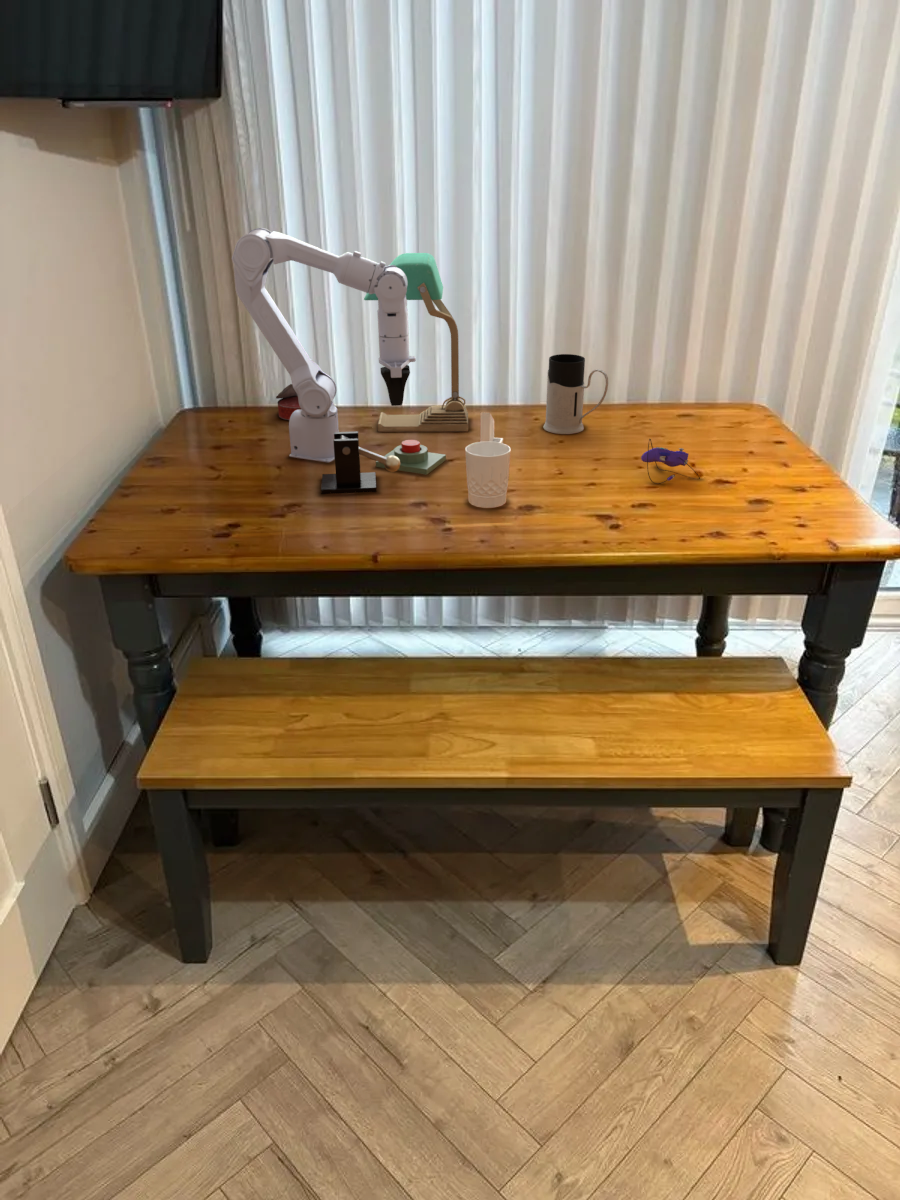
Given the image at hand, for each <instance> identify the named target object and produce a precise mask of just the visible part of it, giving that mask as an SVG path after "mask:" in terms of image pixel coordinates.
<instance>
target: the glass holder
mask: <svg viewBox="0 0 900 1200" xmlns="http://www.w3.org/2000/svg"><path fill="white" fill-rule="evenodd" d="M585 364H586V358H585V356H582V355H578V354H574V353H573V354H571V353H561V354H554V355H551V356H549V357H548V369H547V379H546V380H547V381H546V403H545V421H544V424H543V425H542V426H543V427H542V428H543V429H544V431H546V432H549V433H552V434H557V435H572V434H578V433H581V432H583V431H584V429H585V427H584V423H583V419H584V418H585V417H586V416H588V415H589V414H591V413H592V412H594V411H595V410H596V409H597V408H599V407H600V406H601V405H602V403H603V402H604V400H605V398H606V396H607V393H608V390H609V389H608V388H609V376H608V375H607V373H606V371H604V370H602V369H600V368H599V369H598V368H597V369H594V370H592V371H591V372H590V373H589V375H588V378H587V385H586V386H585V367H586V366H585ZM595 372H599V373H601V374H602V375H603V376H604V379H605V387H604V392H603V395H602V396H601V399H600V400H599V401H598V403H597V404H596V405H595V406H594V407H593V408H592V409H590V410H588V411H587V412H585V413H584V398H585V397H584V395H585V389H588V388H590V386H591V383H592V382H591V381H592V376H593V374H594V373H595ZM583 413H584V414H583Z"/></svg>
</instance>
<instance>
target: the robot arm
mask: <svg viewBox="0 0 900 1200" xmlns="http://www.w3.org/2000/svg"><path fill="white" fill-rule="evenodd" d="M231 261H232V264H233V273H234V275H233V276H234V288H235V292H236V295H237V297H238V298H239V300H240V302H241V303H242V305H243V306H244V307H245V309H246V310H247V312H248V313H249V315H250V317H251V318H252V320H253V321H254V323H255V324H256V326H257V328H258V329H259V330H260V332H261V333H262V335H263V336H264V338H265V339H266V341H267V343H268V344H269V346H270V347H271V349H272V350H273V351H274V353H275V354H276V356H277V358H278V359H279V360H280V362H281V364H282V365H283V367H284V369H285V370H286V371H287V373H288V374H289V376H290V380H291V384H292V385H293V388H294V390H295V391H296V393H297V395H298V401H299V405H300V407H301V410H295V411H294V412H293V413H292V415H291V417H290V420H288V433H289V443H290V444H289V445H290V454H289V457H290V458H297V459H301V460H303V459H304V460H309V461H316V462H322V463H332V462H333V461H335V456H334V442H333V441H334V432H340V430H339V429H340V427H339V414H338V413H339V412H338V407H336V405H335V404H334V401H333V400H334V399H335V397H336V395H337V390H338V389H337V384H336V381H335V380H334V379H333V378H332V377H331V376H330V375H329V374H327V373H326V372H324V371H323V370H322V368H321V367H320V365H319V364H318V363H317V362H315V361H314V360H313V359H312V358H311V357H310V355H309V354H308V352H307V351H306V349H305V348H304V346H303V344H302V343H301V341H300V340H299V338H298V336H297V335H296V334H295V332H294V331H293V328H292V327H291V325H290V324H289V322H288V320H286V318H285V317H284V315H283V313H282V311H281V310H280V308H279V306H278V305H277V304H276V302H275V301H274V299H273V298H272V296H271V295H270V293H269V292H268V290H267V288H266V284H267V278H268V274H269V270H270V267H271V266H272V264H273V265H278V264H282V263H287V262H289V261H293V262H296V263H299V264H302V265H305V266H309V267H312V268H315V269H318V270H321V271H324V272H328V273H331V274H333V275H334V277H335V278H336V281H337V283H338V284H341V285H344V286H347V287H349V288H352V289H355V290H357V291H361V292H363V293H365V294H366V293H368V294H376V296H377V298H378V300H377V306H378V308H377V311H376V312H377V330H378V346H379V347H378V350H379V353H378V354H379V358H378V363H379V364H380V365H381V367H380V375H381V377H382V379H383V381H384V383H385V385H386V389H387V393H388V398H389V402H390V405H391V407H392V406H393V407H396V406H399V407H400V406H401V407H402V406H403V403H404V398H405V397H404V396H405V389H406V384H407V381H408V379H409V377H410V374H411V368H410V365H409V364H410V363H415V362H416V360H417V358H416V356H415V355H410V335H409V334H410V333H409V330H410V329H409V309H408V308H407V306H408V300H407V299H406V292H407V285H408V281H407V277H406V275H405V273H404V272H403V271H402V270H401V269H399V268H397V267H396V266H395V265H390V264H389V265H387V263H386V262H384V261H382V260H380V262H377V261H374V260H372V259H369V258H366V257H363V256H362V252H360V251H357V250H354V252H353V253H352V252H350V251H347V252H344V253H343V254H341V255H337V254H335V253H332V252H330V251H327V250H325V249H323V248H320V247H318V246H315V245H313V244H310V243H308V242H306V241H303V240H301V239H299V238H297V237H296V238H295V237H294V236H291V235H288V234H285V233H283V232H279V231H274V230H273V231H271V230H269V229H268V228H265V227H255V228H253V229H251V230H249V232H248V233H246V234H243V235H242V236H241V237H239V238H238V239H237V241H236V243H235V246H234V250H233V252H232V256H231Z"/></svg>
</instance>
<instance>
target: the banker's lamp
mask: <svg viewBox="0 0 900 1200" xmlns="http://www.w3.org/2000/svg"><path fill="white" fill-rule="evenodd" d="M389 265H395V266H396V267H397V268H399V269H401V270H402V271H403V272H404V273H405V275H406V277H407V281H408V285H407V292H406V299H407V301H423V303H424V306H425V308H426V310H427V312H428V314H429V315H430V316H432V317H434V318H439V319H442V320H443V321H445V322H446V325H447V326H448V329H449V333H450V369H451V370H450V374H451V375H450V376H451V377H450V379H451V381H450V382H451V385H450V387H451V392H450V393H451V397H448V398H446V399H445V400H444V401H443V403H442V404H440V405H437V404H436V405H433V404H432V406H428V408H426V409H425V410H423V411H422V412H420V414H387V413H386V412H384V411H381V412H380V415H379V419H378V422H377V430H378V431H377V432H378V433H379V432H381V433H382V432H383V433H384V432H388V433H389V432H393V433H394V432H395V433H396V432H397V433H398V432H403V433H404V432H407V433H409V432H410V433H411V432H469V412H468V410H467V406H466V399H465V398H464V397H462V396H460V379H459V377H460V376H459V375H460V374H459V373H460V371H459V370H460V369H459V367H460V365H459V364H460V362H459V359H460V358H459V357H460V356H459V355H460V354H459V329H458V326H457V323H456V320H455V319H454V317H453V316H452V315H453V314H451V312H450V311H449V309H448V308H447V306H446V305H445V303H443V300H442V299H443V293H444V285H443V281H442V278H441V275H440V272H439V268H438V266H437V265H438V264H437V262H436V259H435V257H434V256H433V255H432V254H431V253H427V252H407V253H401V254H399V255H398V256H396V257H395V258H394V259H393V260H392V261H391V263H390V264H389ZM363 301H378V298H377V296H376V294H368V293H366V292H365V296H364V297H363ZM436 308H437V309H436Z"/></svg>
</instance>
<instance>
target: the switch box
mask: <svg viewBox="0 0 900 1200" xmlns="http://www.w3.org/2000/svg"><path fill="white" fill-rule="evenodd" d="M391 455H394V456H396V457H398V458H399V460H400V467H399V469H398V470H397V471H402V472H407V473H414V474H419V475H420V474H421V475H428V474H429V473H431V472H432V471H433V470H435V469H436V468H437V467H439V466H440V465H442V464H443V463H444V462H445V461H447V454H444V453H437V452H430V451H429V450H428V447H427V446H425V445H423V444H420V451H419V452H416V453H405V452H402V447H401V444H400V445H397V446H395V447H394V448H393V450H391V451H389V452H388V453H386V454H384V455H383V456H384V457H386V458H387V457H388V456H391ZM375 467H376V468H380V469H381V468H382V469H386V468H385V466H384V464H383V463H380V462H378V461H375Z"/></svg>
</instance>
